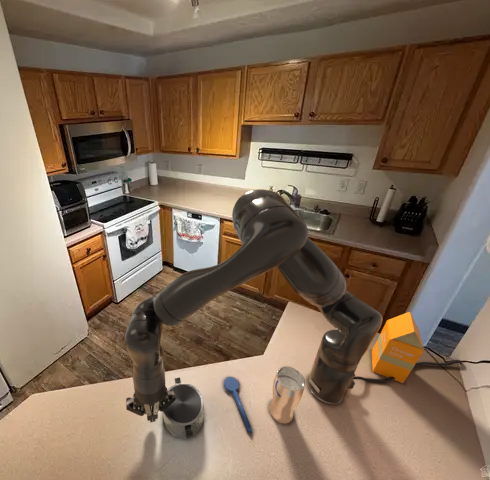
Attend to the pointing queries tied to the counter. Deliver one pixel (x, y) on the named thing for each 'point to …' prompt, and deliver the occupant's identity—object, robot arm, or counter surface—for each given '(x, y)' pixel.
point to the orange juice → (397, 348)
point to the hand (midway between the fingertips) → (152, 418)
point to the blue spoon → (237, 398)
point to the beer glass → (286, 393)
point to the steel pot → (184, 410)
